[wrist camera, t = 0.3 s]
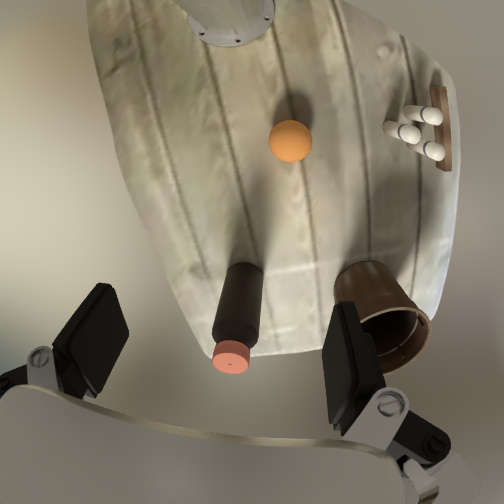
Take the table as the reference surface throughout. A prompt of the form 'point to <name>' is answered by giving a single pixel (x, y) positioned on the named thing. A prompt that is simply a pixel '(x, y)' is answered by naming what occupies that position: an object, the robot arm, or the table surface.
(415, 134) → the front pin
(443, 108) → the back wall
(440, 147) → the pin
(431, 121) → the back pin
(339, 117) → the table surface
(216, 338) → the bottle
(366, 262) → the plant pot
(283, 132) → the ball
